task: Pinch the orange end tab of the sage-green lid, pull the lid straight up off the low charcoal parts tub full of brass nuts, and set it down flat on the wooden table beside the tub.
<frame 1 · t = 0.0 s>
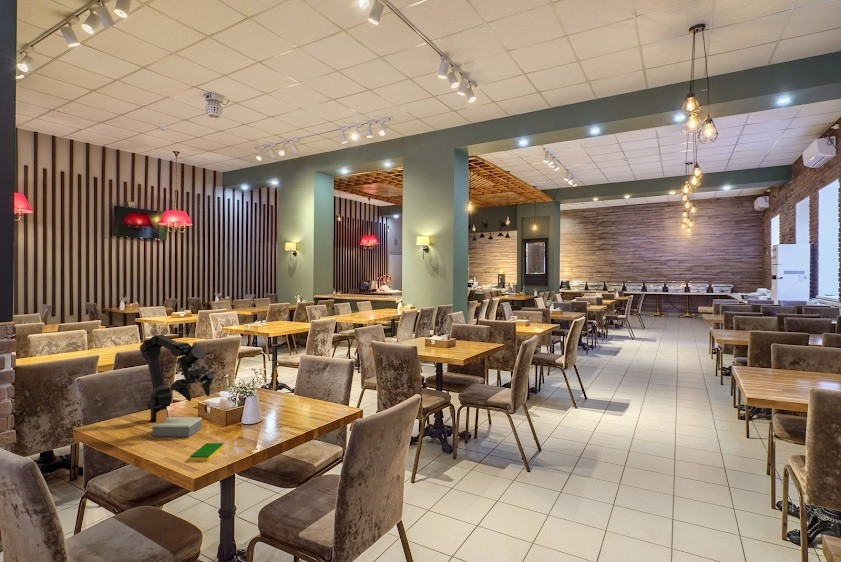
hand: (199, 398, 206), 15 cm above the table, tool tilted 35°, fingers open, 9 cm apart
dish sponge: (207, 455, 179), on the table
tub: (177, 432, 203), on the table
lid: (177, 425, 203), point 3 cm above the table, touching tub
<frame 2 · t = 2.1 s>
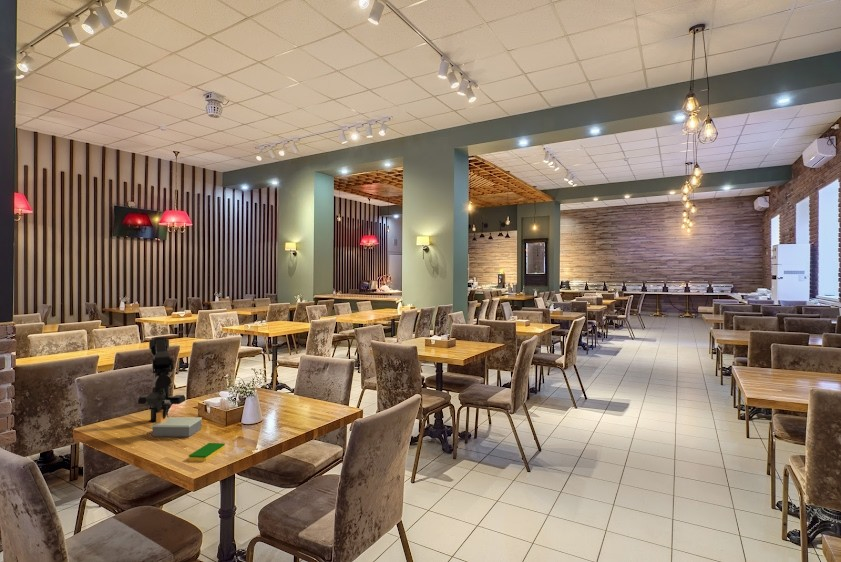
hand: (161, 418, 203), 7 cm above the table, tool pointing down, fingers closed on lid
lid: (177, 425, 203), point 3 cm above the table, touching gripper, tub
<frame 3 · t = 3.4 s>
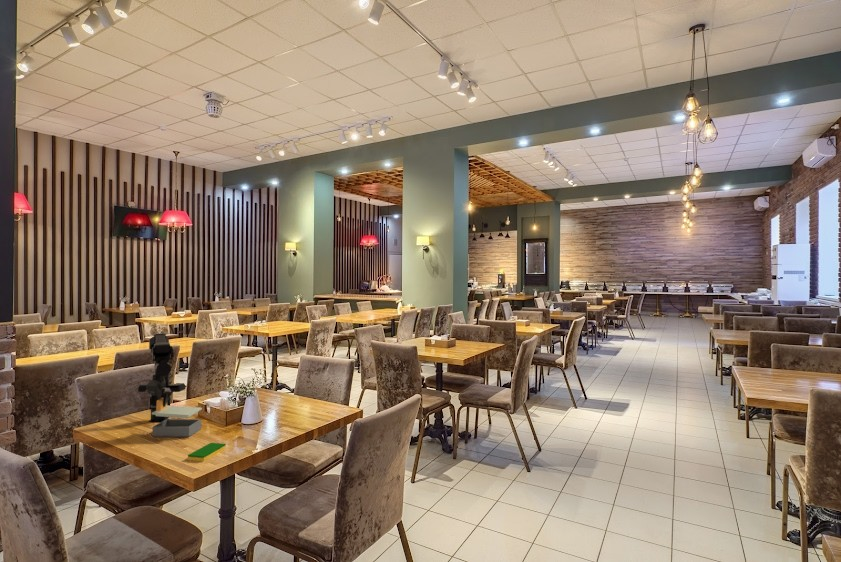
hand: (161, 406, 203), 12 cm above the table, tool pointing down, fingers closed on lid
lid: (177, 414, 203), point 9 cm above the table, touching gripper
everything else where it was.
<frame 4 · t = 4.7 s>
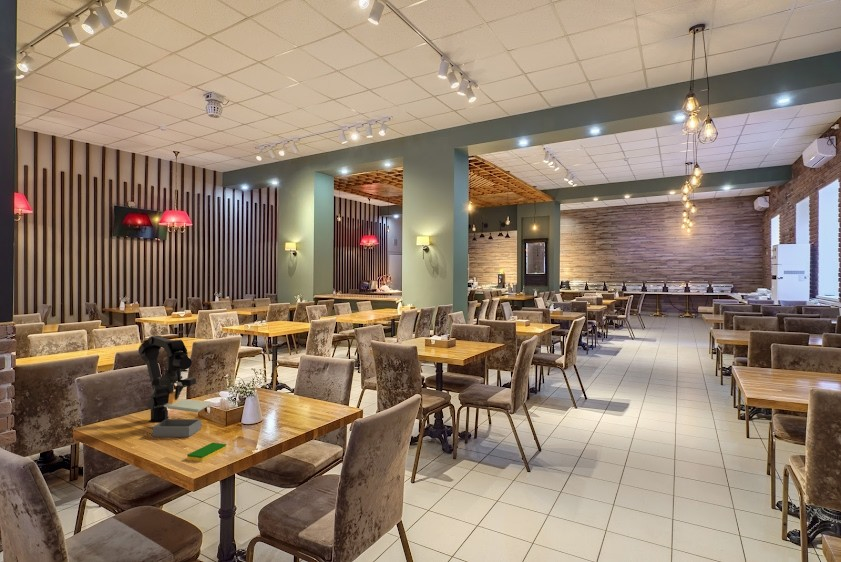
hand: (173, 399, 213), 12 cm above the table, tool pointing down, fingers closed on lid, 2 cm apart
lid: (187, 407, 213), point 9 cm above the table, tilted 6°, touching gripper
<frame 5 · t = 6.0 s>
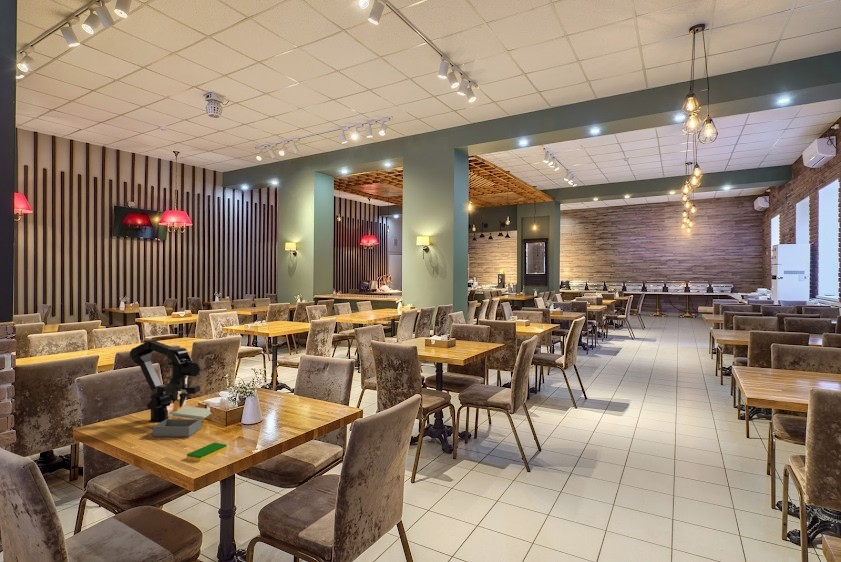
hand: (178, 407, 217), 8 cm above the table, tool pointing down, fingers closed on lid, 2 cm apart
lid: (192, 414, 217), point 4 cm above the table, tilted 7°, touching gripper
when the fingers open (4 cm above the table, at t = 7.2 s): lid stays where it is, on the table.
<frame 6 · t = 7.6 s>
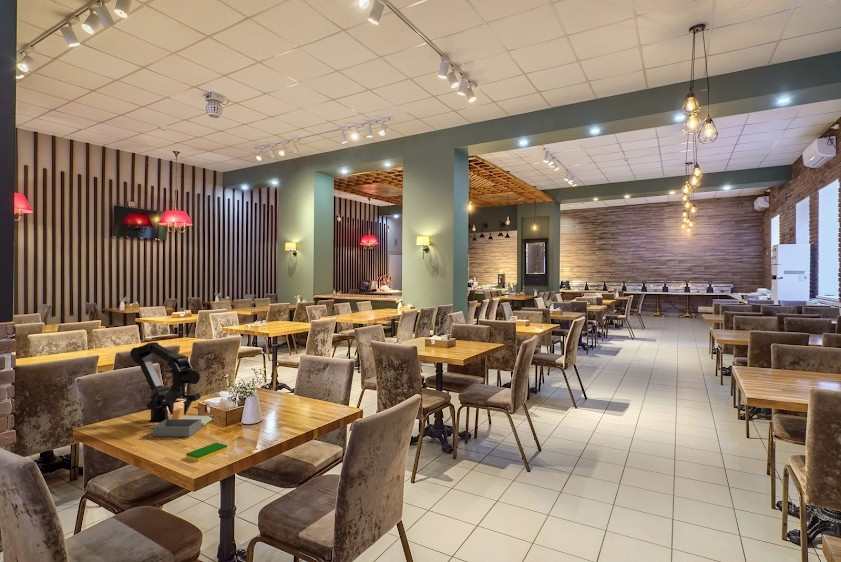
hand: (178, 414, 217), 4 cm above the table, tool pointing down, fingers open, 6 cm apart
lid: (192, 423, 217), on the table
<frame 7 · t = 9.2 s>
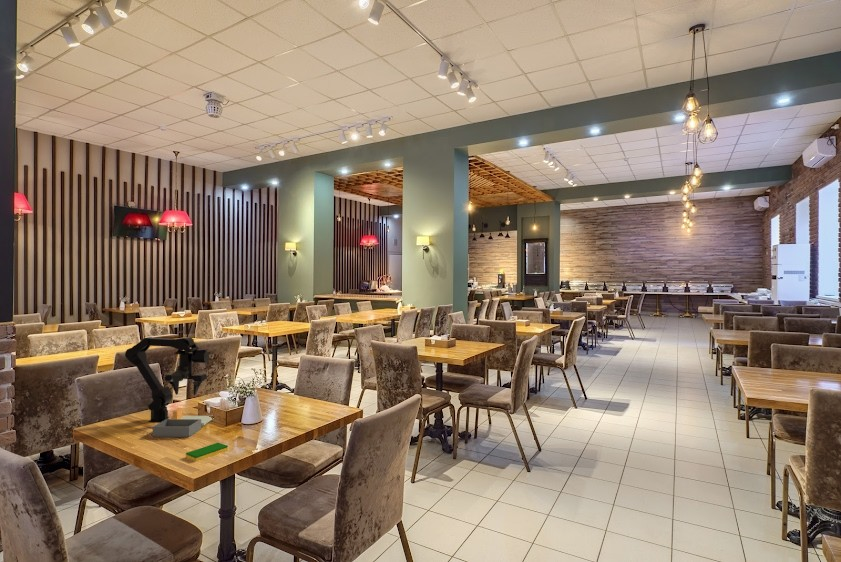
hand: (185, 394, 221), 13 cm above the table, tool pointing down, fingers open, 9 cm apart
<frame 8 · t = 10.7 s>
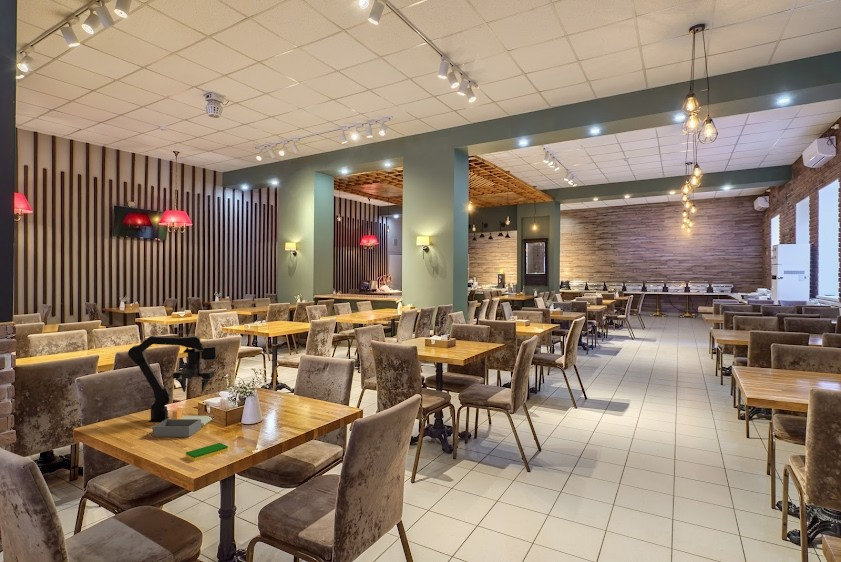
hand: (193, 391, 227), 12 cm above the table, tool pointing down, fingers open, 9 cm apart
at the end: lid inside the target area (0.4 cm from its centre), on the table; lid touching table; lid tilted 0° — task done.
